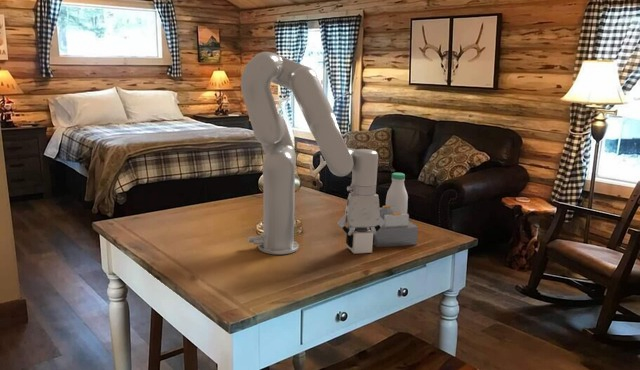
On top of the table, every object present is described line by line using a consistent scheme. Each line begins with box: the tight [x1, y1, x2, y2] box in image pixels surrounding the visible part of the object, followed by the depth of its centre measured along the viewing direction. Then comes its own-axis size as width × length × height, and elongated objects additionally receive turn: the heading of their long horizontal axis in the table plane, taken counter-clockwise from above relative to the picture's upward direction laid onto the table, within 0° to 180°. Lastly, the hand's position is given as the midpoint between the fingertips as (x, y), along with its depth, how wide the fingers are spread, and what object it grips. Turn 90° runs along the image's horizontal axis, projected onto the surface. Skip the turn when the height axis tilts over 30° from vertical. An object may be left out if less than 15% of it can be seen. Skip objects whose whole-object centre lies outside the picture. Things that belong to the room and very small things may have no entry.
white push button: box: [347, 227, 374, 254], centre depth 172 cm, size 6×6×7 cm
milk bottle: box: [385, 172, 409, 214], centre depth 194 cm, size 8×8×20 cm
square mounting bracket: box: [367, 205, 419, 248], centre depth 183 cm, size 16×12×11 cm
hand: (359, 245), depth 172 cm, fingers closed on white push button, 6 cm apart
